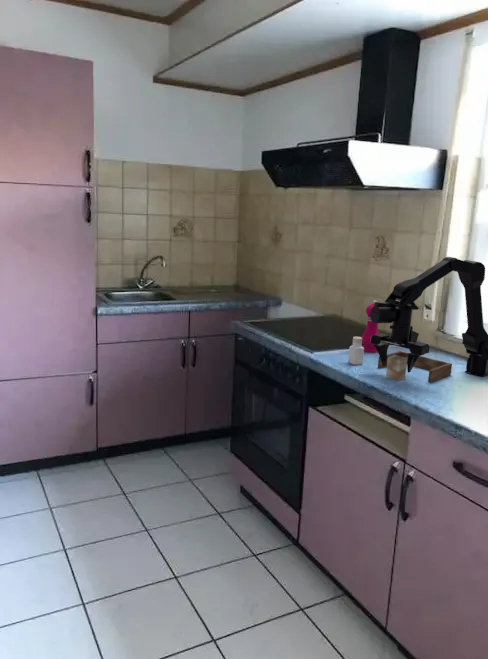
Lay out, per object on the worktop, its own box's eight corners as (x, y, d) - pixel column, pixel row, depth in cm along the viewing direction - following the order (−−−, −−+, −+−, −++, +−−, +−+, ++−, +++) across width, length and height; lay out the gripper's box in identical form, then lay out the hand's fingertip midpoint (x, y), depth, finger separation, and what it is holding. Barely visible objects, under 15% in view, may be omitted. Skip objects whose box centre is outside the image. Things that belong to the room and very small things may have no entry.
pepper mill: (364, 347, 222) (368, 298, 217) (381, 350, 218) (387, 300, 214) (357, 351, 216) (362, 300, 211) (375, 354, 212) (381, 302, 208)
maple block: (405, 378, 184) (407, 357, 182) (397, 380, 181) (400, 360, 179) (392, 374, 187) (395, 354, 185) (385, 377, 184) (388, 357, 182)
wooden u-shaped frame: (450, 374, 190) (452, 363, 189) (430, 382, 180) (432, 370, 179) (398, 361, 204) (399, 350, 203) (377, 367, 194) (378, 356, 193)
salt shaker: (357, 361, 201) (359, 336, 199) (363, 364, 197) (365, 338, 195) (347, 362, 199) (349, 336, 197) (353, 365, 196) (355, 339, 194)
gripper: (440, 325, 179) (434, 371, 182) (389, 315, 192) (384, 358, 195) (423, 329, 171) (417, 377, 175) (371, 318, 184) (367, 363, 187)
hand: (396, 368), depth 183 cm, fingers open, 9 cm apart
